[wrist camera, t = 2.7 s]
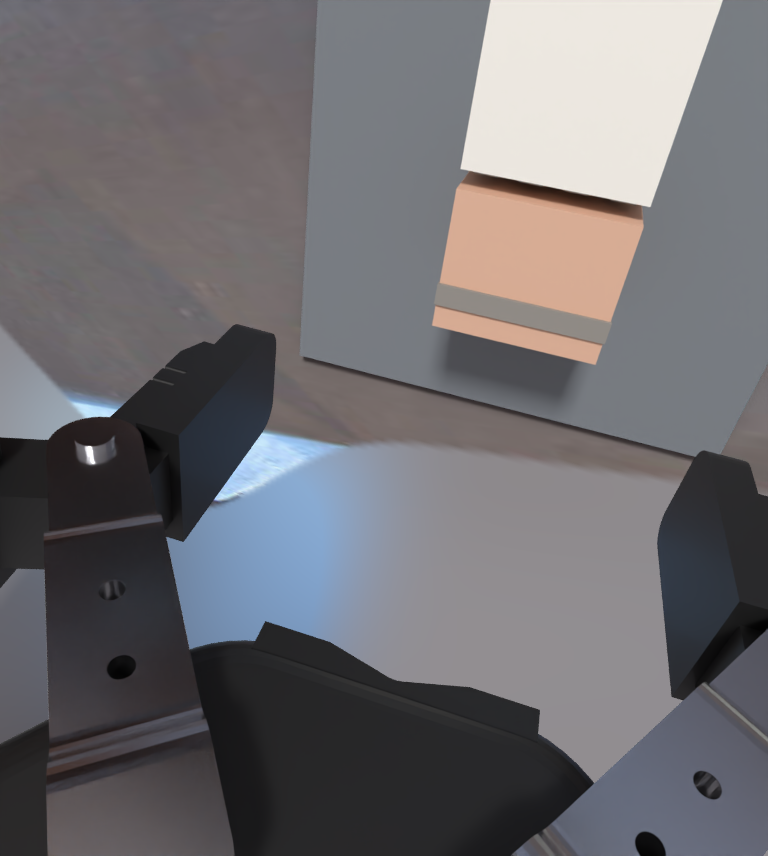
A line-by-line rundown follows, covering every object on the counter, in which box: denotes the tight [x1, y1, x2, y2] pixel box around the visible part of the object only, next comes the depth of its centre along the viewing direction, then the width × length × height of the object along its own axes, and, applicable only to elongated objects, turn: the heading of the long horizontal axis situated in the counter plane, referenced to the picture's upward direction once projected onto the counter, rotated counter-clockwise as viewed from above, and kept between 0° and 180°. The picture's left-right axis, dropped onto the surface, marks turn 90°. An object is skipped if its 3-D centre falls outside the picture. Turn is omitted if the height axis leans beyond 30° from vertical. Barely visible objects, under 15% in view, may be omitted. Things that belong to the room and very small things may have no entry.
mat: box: [300, 0, 768, 457], centre depth 25 cm, size 20×26×1 cm
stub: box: [432, 171, 644, 365], centre depth 25 cm, size 6×5×5 cm
